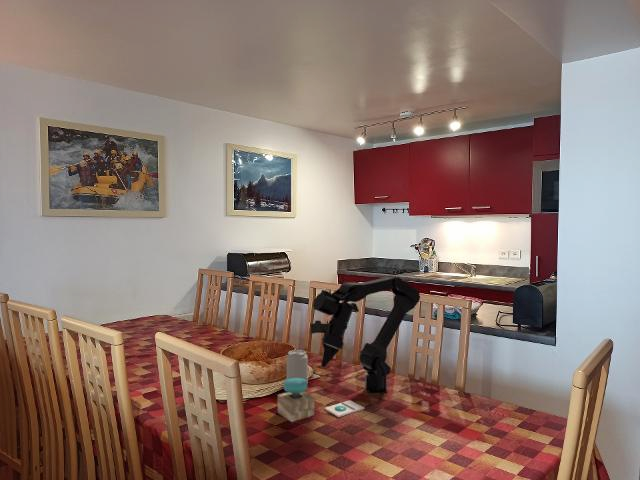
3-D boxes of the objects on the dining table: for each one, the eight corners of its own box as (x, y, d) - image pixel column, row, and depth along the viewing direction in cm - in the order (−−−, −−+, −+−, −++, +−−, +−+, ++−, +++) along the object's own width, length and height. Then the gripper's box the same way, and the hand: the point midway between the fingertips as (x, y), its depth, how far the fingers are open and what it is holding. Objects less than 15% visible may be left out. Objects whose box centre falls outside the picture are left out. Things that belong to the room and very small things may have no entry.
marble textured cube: (299, 406, 143) (299, 389, 143) (314, 415, 137) (314, 397, 137) (277, 412, 139) (277, 394, 139) (291, 422, 132) (291, 403, 132)
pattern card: (349, 401, 147) (349, 399, 147) (364, 409, 141) (364, 406, 141) (324, 409, 141) (324, 407, 141) (338, 417, 135) (338, 415, 135)
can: (282, 387, 160) (282, 353, 160) (293, 380, 167) (293, 347, 166) (301, 390, 157) (300, 356, 156) (311, 383, 163) (311, 350, 163)
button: (299, 391, 142) (299, 376, 142) (311, 398, 137) (311, 382, 137) (279, 396, 138) (279, 381, 138) (291, 404, 133) (291, 387, 133)
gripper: (316, 311, 158) (299, 355, 155) (316, 310, 139) (298, 359, 137) (346, 323, 157) (330, 367, 154) (351, 323, 139) (332, 373, 136)
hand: (322, 366), depth 145 cm, fingers closed
